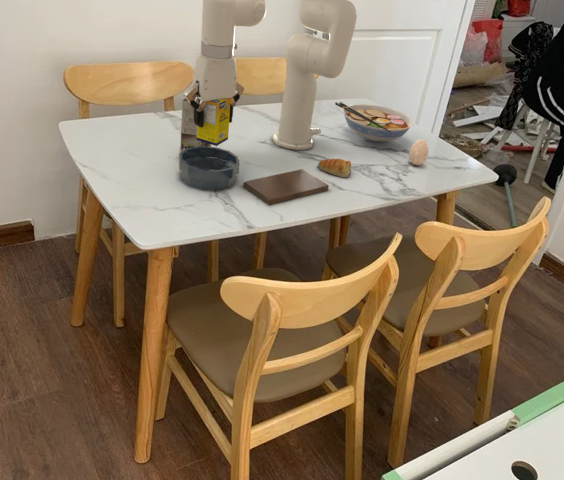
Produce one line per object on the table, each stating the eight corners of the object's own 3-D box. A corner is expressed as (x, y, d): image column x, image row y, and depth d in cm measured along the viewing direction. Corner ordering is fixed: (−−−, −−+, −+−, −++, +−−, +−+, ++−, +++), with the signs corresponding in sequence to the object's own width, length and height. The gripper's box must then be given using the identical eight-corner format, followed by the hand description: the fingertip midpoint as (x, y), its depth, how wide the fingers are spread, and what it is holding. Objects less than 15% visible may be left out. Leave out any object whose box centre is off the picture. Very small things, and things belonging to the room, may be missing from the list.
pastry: (315, 172, 170) (317, 159, 168) (319, 163, 176) (321, 151, 174) (348, 179, 169) (351, 166, 167) (351, 170, 175) (353, 157, 172)
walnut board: (301, 173, 168) (302, 168, 167) (327, 190, 161) (328, 185, 160) (243, 186, 156) (243, 181, 155) (269, 205, 150) (269, 199, 149)
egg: (413, 159, 188) (419, 135, 183) (427, 166, 185) (434, 141, 180) (402, 163, 184) (409, 138, 180) (417, 169, 181) (424, 144, 177)
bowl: (216, 162, 167) (217, 143, 164) (248, 184, 158) (250, 165, 155) (167, 171, 158) (168, 151, 155) (199, 195, 149) (200, 175, 146)
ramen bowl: (424, 148, 197) (431, 124, 192) (372, 157, 185) (378, 131, 180) (373, 121, 213) (379, 98, 208) (323, 127, 201) (327, 103, 196)
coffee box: (201, 162, 165) (205, 104, 156) (179, 158, 166) (181, 100, 157) (211, 151, 173) (215, 95, 164) (190, 146, 173) (192, 90, 164)
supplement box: (228, 139, 154) (231, 97, 148) (216, 146, 149) (219, 103, 143) (208, 133, 156) (210, 91, 149) (195, 140, 151) (197, 97, 145)
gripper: (238, 43, 147) (233, 113, 157) (176, 48, 137) (174, 122, 147) (256, 52, 143) (250, 123, 153) (193, 57, 133) (191, 133, 143)
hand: (213, 122), depth 150 cm, fingers closed on supplement box, 7 cm apart
